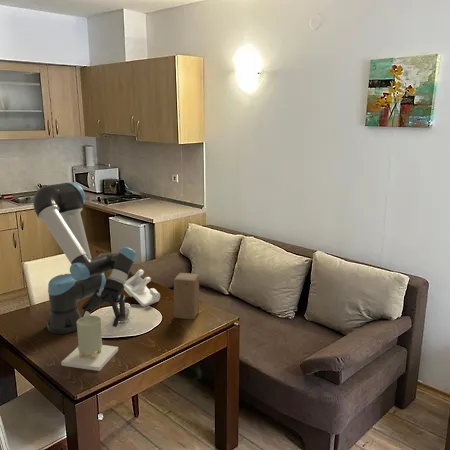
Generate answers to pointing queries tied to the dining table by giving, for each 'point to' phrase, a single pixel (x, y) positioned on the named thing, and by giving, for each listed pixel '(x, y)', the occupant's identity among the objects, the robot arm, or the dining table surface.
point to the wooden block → (186, 296)
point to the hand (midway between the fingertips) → (95, 330)
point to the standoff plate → (90, 358)
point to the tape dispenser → (141, 289)
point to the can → (89, 334)
